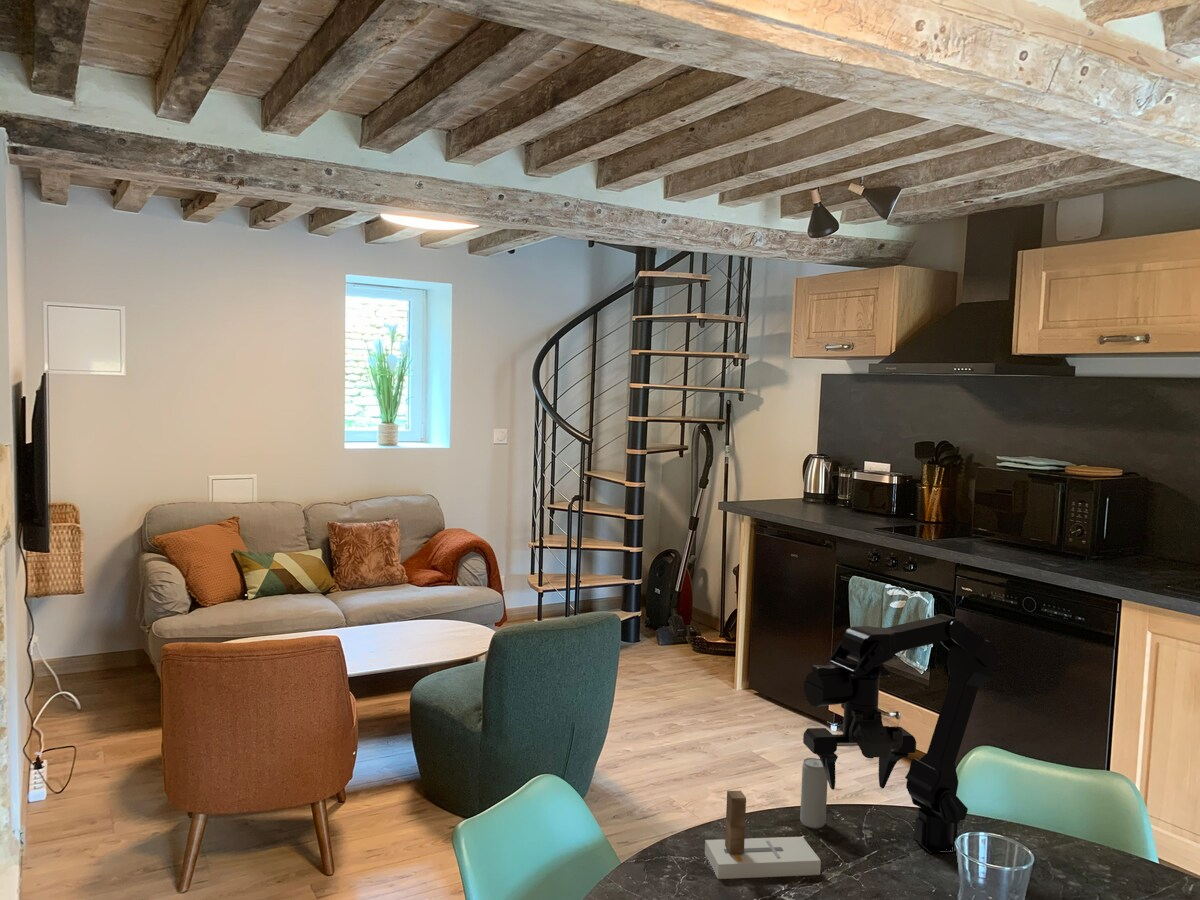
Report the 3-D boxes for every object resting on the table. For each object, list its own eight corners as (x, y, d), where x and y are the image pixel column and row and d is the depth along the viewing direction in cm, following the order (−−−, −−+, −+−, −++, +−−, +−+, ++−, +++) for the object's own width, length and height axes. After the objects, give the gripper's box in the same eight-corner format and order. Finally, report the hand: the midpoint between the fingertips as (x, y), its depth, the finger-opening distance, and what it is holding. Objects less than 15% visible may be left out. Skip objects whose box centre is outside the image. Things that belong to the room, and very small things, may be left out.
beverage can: (823, 819, 175) (826, 758, 174) (827, 830, 170) (830, 768, 169) (798, 817, 175) (801, 756, 175) (801, 828, 170) (804, 766, 170)
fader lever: (738, 844, 157) (741, 790, 157) (743, 853, 154) (746, 797, 154) (724, 845, 157) (727, 790, 156) (729, 853, 154) (732, 798, 153)
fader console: (801, 850, 162) (802, 835, 162) (820, 874, 153) (820, 859, 153) (704, 853, 159) (705, 839, 159) (717, 879, 151) (718, 863, 150)
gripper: (828, 717, 148) (824, 810, 149) (934, 715, 151) (929, 806, 151) (804, 695, 159) (800, 782, 160) (903, 694, 162) (898, 779, 162)
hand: (857, 788), depth 158 cm, fingers open, 9 cm apart
